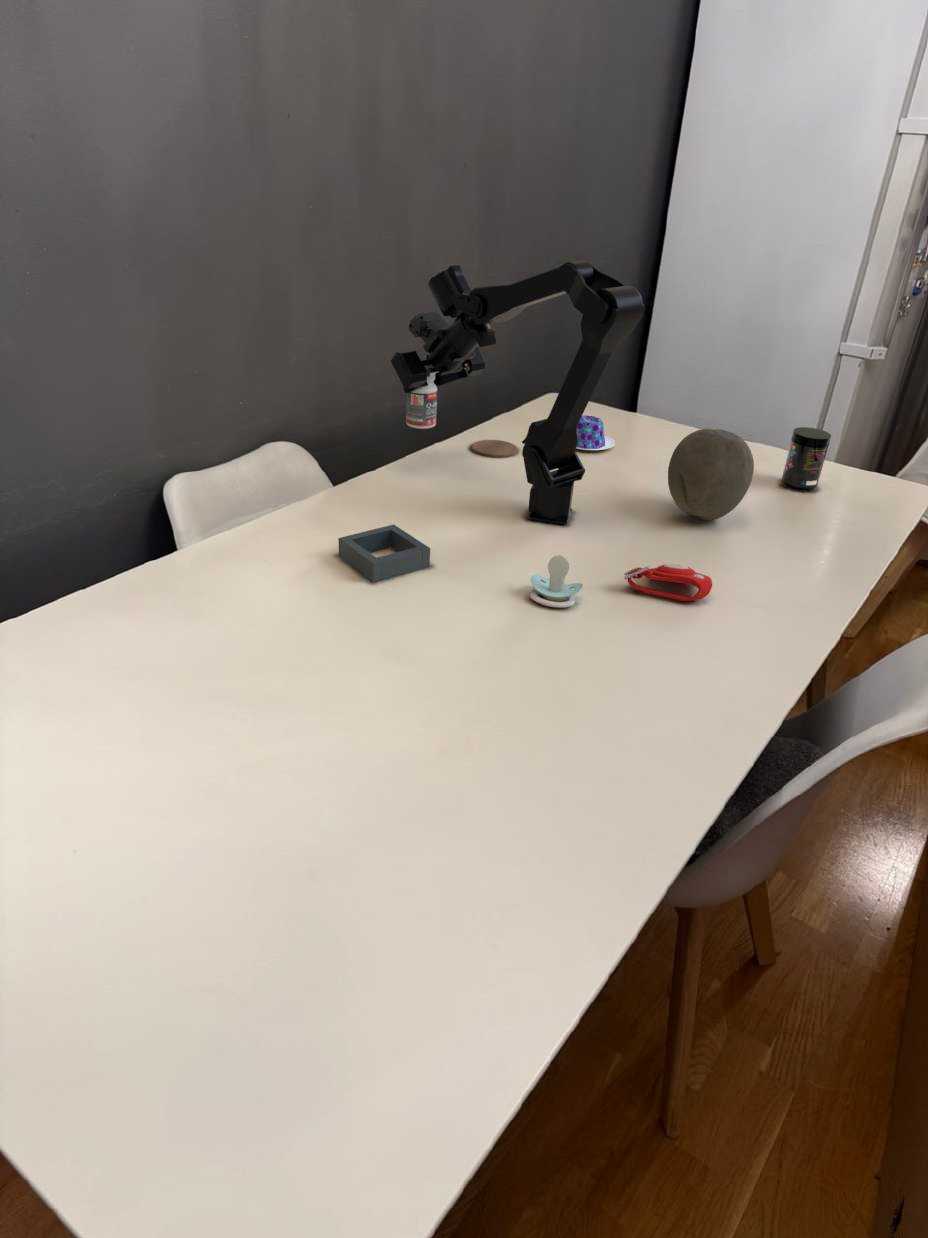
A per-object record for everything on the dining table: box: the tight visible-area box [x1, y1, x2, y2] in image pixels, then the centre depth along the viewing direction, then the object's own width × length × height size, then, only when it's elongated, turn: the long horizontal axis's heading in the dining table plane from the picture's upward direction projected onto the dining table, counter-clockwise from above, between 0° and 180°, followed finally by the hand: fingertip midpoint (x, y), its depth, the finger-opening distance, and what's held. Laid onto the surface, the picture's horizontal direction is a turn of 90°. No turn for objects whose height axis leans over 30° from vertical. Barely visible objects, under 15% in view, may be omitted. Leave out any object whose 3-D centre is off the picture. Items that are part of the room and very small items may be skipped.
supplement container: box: [781, 426, 832, 492], centre depth 166 cm, size 7×7×10 cm
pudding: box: [576, 414, 616, 451], centre depth 182 cm, size 12×12×5 cm
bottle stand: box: [337, 524, 431, 583], centre depth 131 cm, size 10×10×3 cm
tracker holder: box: [623, 564, 713, 602], centre depth 127 cm, size 12×4×10 cm
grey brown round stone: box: [667, 428, 755, 522], centre depth 150 cm, size 14×14×15 cm
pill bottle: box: [405, 373, 438, 430], centre depth 164 cm, size 6×6×10 cm
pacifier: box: [529, 554, 583, 608], centre depth 123 cm, size 7×6×6 cm
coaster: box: [471, 439, 518, 458], centre depth 177 cm, size 9×9×1 cm
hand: (417, 388), depth 164 cm, fingers closed on pill bottle, 6 cm apart
